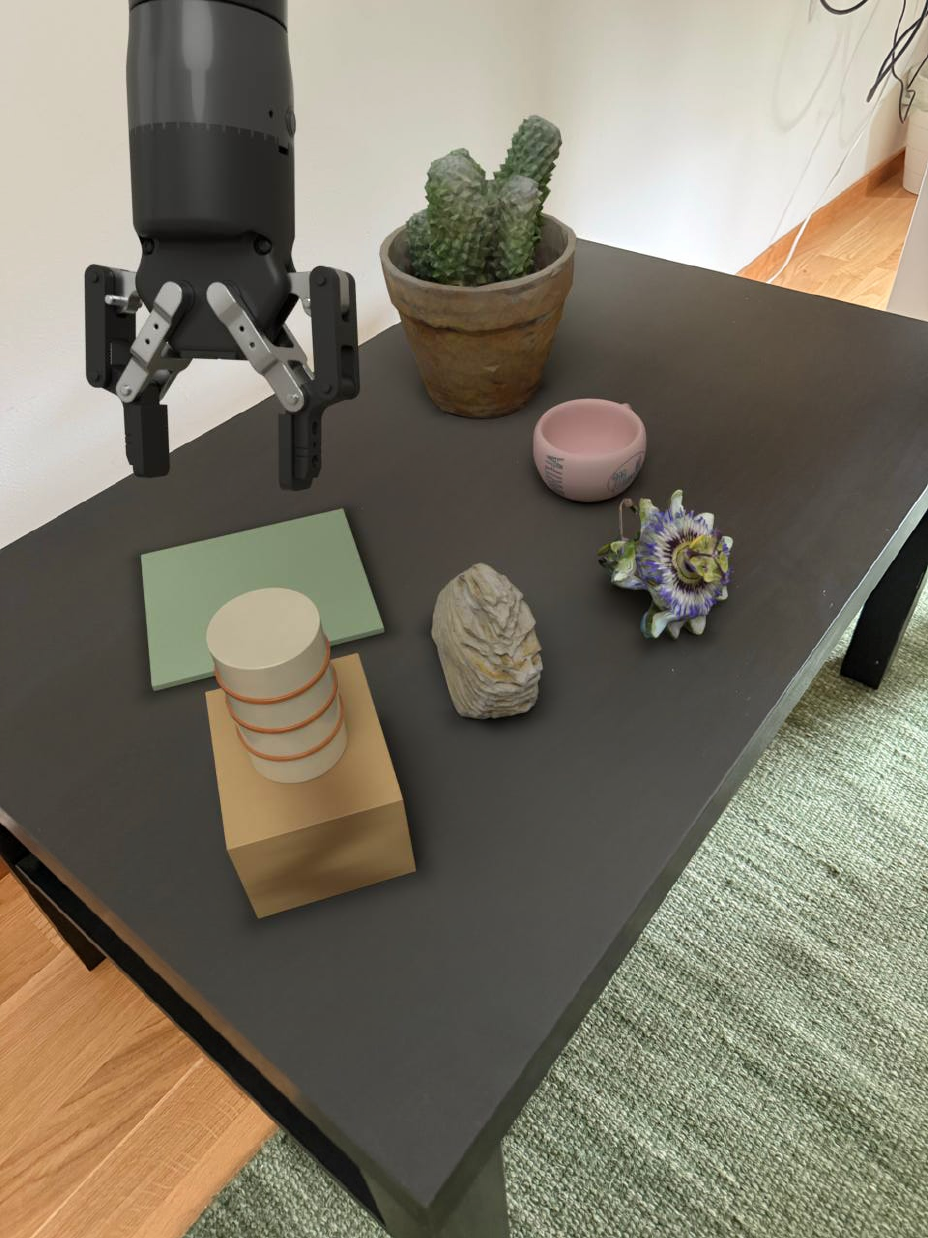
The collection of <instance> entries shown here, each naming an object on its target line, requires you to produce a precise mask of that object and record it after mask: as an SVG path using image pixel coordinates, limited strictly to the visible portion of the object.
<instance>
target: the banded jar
mask: <svg viewBox="0 0 928 1238" xmlns="http://www.w3.org/2000/svg"><path fill="white" fill-rule="evenodd" d="M206 643H207V647H208V649H209V652H210V655H211V657H212V660H213V663H214V672H215V676H214V677H215V679H216V682H217V684H218V686H219V687H220V688H222V690H223V691H224V692H225V702H226V705H227V709H228V711H229V713H230V715H231V716H232V718H233V719H234V720H235V722H236V732H237V735H238V738H239V740H240V742H241V744H242V745H243V746H244V747H245V749H246V752H247V754H248V757H249V760H250V762H251V764H252V766H253V767H254V769H255V770H256V771H257V772H258V773H259V774H261V775H262V776H263V777H265V778H267V779H269V780H272V781H275V782H279V783H301V782H305V781H309V780H312V779H314V778H316V777H319V776H320V775H322V774H324V773H326V772H327V771H328V770H330V769H331V768H332V767H333V766H334V765H335V764H336V763H337V762H338V761H339V759H340V758H341V756H342V755H343V753H344V751H345V748H346V745H347V740H348V733H347V727H346V723H345V719H344V704H343V700H342V697H341V695H340V693H339V692H338V689H337V688H338V679H337V674H336V671H335V668H334V666H333V665H332V663H331V660H332V659H331V656H332V649H331V646H330V644H329V641H328V638H327V636H326V635H325V633H324V630H323V626H322V622H321V618H320V614H319V611H318V608H317V607H316V605H315V604H314V603H313V602H312V600H311V599H309V598H308V597H307V596H305V595H304V594H302V593H300V592H297V591H294V590H291V589H286V588H263V589H258V590H254V591H250V592H247V593H244V594H242V595H240V596H238V597H236V598H234V599H232V600H230V601H229V602H228V603H226V604H225V605H224V606H222V607H221V608H220V609H219V610H218V611H217V612H216V614H215V615H214V616H213V618H212V619H211V621H210V623H209V625H208V628H207V632H206Z"/></svg>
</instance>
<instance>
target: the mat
mask: <svg viewBox="0 0 928 1238" xmlns="http://www.w3.org/2000/svg"><path fill="white" fill-rule="evenodd" d="M140 560H141V571H142V585H143V597H144V609H145V620H146V633H147V643H148V644H147V645H148V657H149V670H150V682H151V688H152V690H153V692H156V691H161V690H165V689H169V688H172V687H178V686H181V685H184V684H188V683H192V682H193V683H194V682H196V681H200V680H204V679H208V678H212V677H216V676H215V672H214V663H213V660H212V657H211V655H210V652H209V649H208V647H207V643H206V632H207V628H208V625H209V623H210V621H211V619H212V618H213V616H214V615H215V614H216V612H217V611H218V610H219V609H220V608H221V607H222V606H224V605H225V604H226V603H228V602H229V601H230V600H232V599H234V598H236V597H238V596H240V595H242V594H244V593H247V592H250V591H254V590H258V589H263V588H286V589H291V590H294V591H297V592H300V593H302V594H304V595H305V596H307V597H308V598H309V599H311V600H312V602H313V603H314V604H315V605H316V607H317V608H318V611H319V614H320V618H321V622H322V626H323V630H324V633H325V635H326V636H327V638H328V641H329V644H330V647H333V646H337V645H341V644H345V643H349V642H352V641H356V640H361V639H364V638H368V637H373V636H377V635H381V634H384V633H385V631H386V630H385V625H384V624H383V620H382V617H381V615H380V612H379V609H378V606H377V603H376V600H375V598H374V594H373V592H372V588H371V586H370V585H371V584H370V583H369V579H368V576H367V574H366V571H365V568H364V566H363V562H362V560H361V556H360V554H359V551H358V547H357V544H356V542H355V539H354V536H353V533H352V530H351V527H350V524H349V522H348V519H347V515H346V512H345V510H344V508H338V509H334V510H330V511H326V512H325V511H324V512H321V513H316V514H313V515H308V516H303V517H299V518H295V519H291V520H286V521H282V522H278V523H274V524H268V525H264V526H261V527H256V528H253V529H252V528H251V529H247V530H243V531H239V532H235V533H230V534H226V535H222V536H216V537H213V538H209V539H204V540H199V541H196V542H190V543H186V544H182V545H179V546H178V545H177V546H173V547H170V548H165V549H161V550H156V551H151V552H147V553H143V554H140Z"/></svg>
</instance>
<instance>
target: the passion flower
mask: <svg viewBox="0 0 928 1238" xmlns="http://www.w3.org/2000/svg"><path fill="white" fill-rule="evenodd" d="M682 502H683V490H681V489H677V490H675V491H674V492H673V493H672V494H671V495H670V496H669V498H668V500H667V502H666V509H665V512H664V511H662V512H660V509H659V508H658V507H657V506H654V505H653V503H652V500H651V499H649V498H643V497H641V498H639V500H638V507H639V509H638V507H637V506H636V505H635V503H634V501H633V499H632V498H623V499H622V501H621V503H620V504H619V506H618V526H619V527H618V530H619V536H618V537H617V538H615V539H614V540H612V541H611V542H609V543H607V544H606V545H604V546H601V548H600V549H599V550H598V551H597V553H596V555H597V557H601V556H602V558H601V559H598V560H597V563H598V564H599V565H600V566H602V568H604V569H607V570H608V572H610V584H611V586H615V587H616V588H620V589H627V590H633V591H638V590H641V591H642V590H643V591H646V592H648V593H649V594H650V595H651V597H652V602H651V605H650V607H649V609H648V610H647V612H645V613H644V615H643V616H642V619H641V622H640V631H641V634H642V636H643V637H644V638H645V639H646V640H654V639H657V638H659V636H660V635H661V634H662V633H663V631H664V632H665V633H666V635H668V636H669V638H671V639H672V640H674V641H677V639H678V638H679V635H680V633H681V632H680V631H681V629H682V628H683V627H684V628H685V629H686V630H687V631H688V632H690V633H691V634H693V635H696V636H701V635H702V634H703V632H704V630H705V628H706V619H707V616H708V615H709V614H710V611H711V610H712V606H714V605H716V604H717V602H721V601H722V602H723V601H725V600H727V599H728V597H729V594H728V590H727V585H728V583H729V582H731V581H732V579H730V578H729V575H730V573H736V572H735V570H731V567H729V559H728V558H729V557H730V556H731V553H730V550H731V549H732V547H733V543H734V540H733V537H730V536H728V535H727V536H724V535H723V533H722V531H721V530H719V529H718V526H716V527H715V528H713V527H714V523H715V522H714V521H715V515H714V513H711V512H700V513H698V514H696V510H693V509H691V510H690V511H689V513H687V514H686V512H687V509H686V508H685V509H684V506H683V504H682ZM623 505H625V507H626V508H627V509H628V508H629V509H630V512H631V515H632V516H633V517H636V516H637V514H638V512H639V514H638V515H639V521H640V530H639V531H636V530H635V531H634V534H633V539H631V538H626V537H624V535H623V534H624V533H623V532H624V531H623V525H624V524H623V519H622V518H623ZM695 514H696V515H695ZM618 551H619V554H618ZM607 554H608V556H607V557H606V556H604V555H607ZM614 561H615V562H616V564H615V565H612V563H613V562H614Z"/></svg>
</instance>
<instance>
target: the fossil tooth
mask: <svg viewBox="0 0 928 1238" xmlns="http://www.w3.org/2000/svg"><path fill="white" fill-rule="evenodd" d="M523 598H524V594H523V592H521V591H520V589H519V588H518V587H516V586H515V585H514V584H513V582H511V581H510V580H509V578H508V577H507V576H506V575H505V574H501V573H499V572H498V571H497V570H495V568H493V567H492V566H491V565H488V564H485V563H483V562H479V563H475V564H472V566H471V567H469V568H468V569H465V570H464V571H463V572H460V573H459V574H457V576H455V577H454V578H452V579H451V580H450V581H449V582H448V583H447V584H446V585H445V586H444V588H442V589H441V591H440V592H439V593H438V596H437V598H436V603H435V605H434V611H433V614H432V627H431V638H432V639H433V641H434V644H435V645H436V647H437V653H438V658H439V661H440V664H441V668H442V670H443V674H444V677H445V681H446V682H445V683H446V686H447V688H448V692H449V695H450V698H451V702H452V704H453V706H454V708H455V710H456V713H458V715H460V716H461V717H464V718H471V719H477V720H485V719H488V718H492V719H497V718H503V717H512V716H514V715H518V714H523V713H527V712H529V710H530V709H532V707H534V706H535V704H536V702H537V700H538V699H539V697H538V694H539V693H540V691H539V684H538V683H539V680H540V679H541V672H542V671H543V669H544V668H543V662H542V657H541V655H540V653H539V652H540V651H541V650H542V647H541V645H540V641H539V639H538V637H537V635H536V629H535V625H536V624H537V621H536V619H535V618H534V616H533V613H532V611H531V609H530V607H529V605H528V604H527V603H526V602H525V601H524V600H523Z"/></svg>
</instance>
